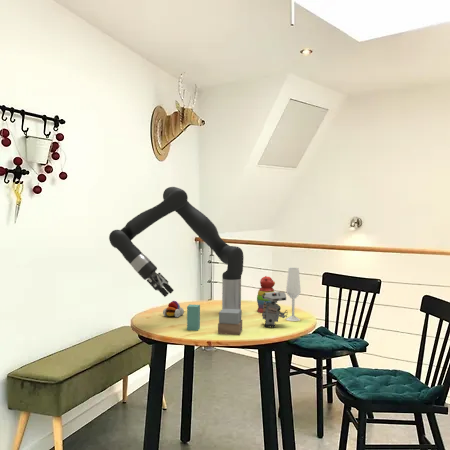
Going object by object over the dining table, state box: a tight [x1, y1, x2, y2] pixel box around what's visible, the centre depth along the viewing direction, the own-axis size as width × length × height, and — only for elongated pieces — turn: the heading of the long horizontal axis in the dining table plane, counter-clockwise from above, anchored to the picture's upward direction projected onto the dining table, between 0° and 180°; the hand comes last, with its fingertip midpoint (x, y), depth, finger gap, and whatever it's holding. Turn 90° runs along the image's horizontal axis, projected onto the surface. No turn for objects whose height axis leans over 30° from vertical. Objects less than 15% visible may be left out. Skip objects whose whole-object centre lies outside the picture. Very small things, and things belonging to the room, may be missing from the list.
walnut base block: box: [217, 319, 243, 336], centre depth 198 cm, size 9×9×4 cm
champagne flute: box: [285, 267, 301, 322], centre depth 222 cm, size 7×7×24 cm
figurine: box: [261, 290, 288, 329], centre depth 210 cm, size 9×12×15 cm
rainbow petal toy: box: [162, 300, 185, 318], centre depth 228 cm, size 8×10×7 cm
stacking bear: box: [256, 275, 276, 314], centre depth 240 cm, size 11×10×18 cm
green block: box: [186, 304, 201, 331], centre depth 202 cm, size 5×5×10 cm
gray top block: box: [218, 308, 243, 324], centre depth 198 cm, size 8×8×4 cm
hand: (169, 293), depth 204 cm, fingers open, 8 cm apart
